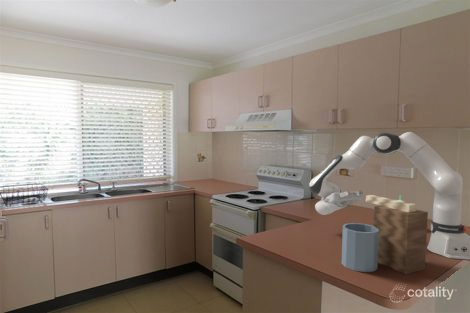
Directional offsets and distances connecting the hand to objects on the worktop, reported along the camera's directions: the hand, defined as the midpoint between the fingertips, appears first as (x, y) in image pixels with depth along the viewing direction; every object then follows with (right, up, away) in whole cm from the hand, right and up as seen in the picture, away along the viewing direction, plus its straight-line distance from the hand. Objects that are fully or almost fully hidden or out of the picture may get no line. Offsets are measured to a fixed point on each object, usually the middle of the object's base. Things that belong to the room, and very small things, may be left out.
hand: (355, 192), depth 152 cm
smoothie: (+39, -26, +33) cm, 57 cm away
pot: (-7, -28, -22) cm, 37 cm away
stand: (+10, -28, -21) cm, 37 cm away
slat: (+8, -4, -17) cm, 19 cm away
